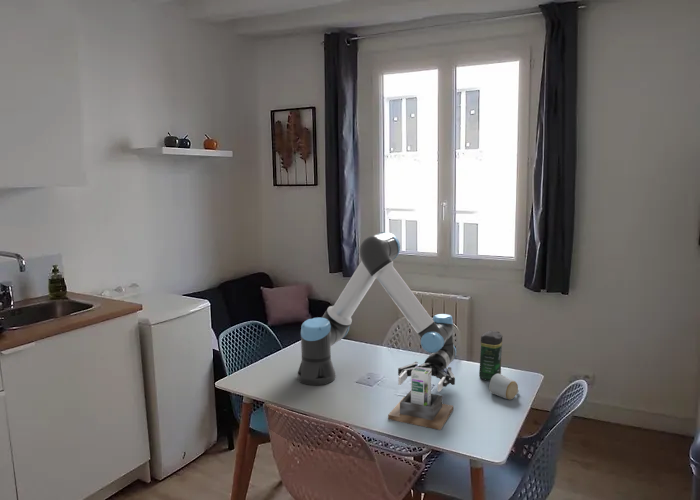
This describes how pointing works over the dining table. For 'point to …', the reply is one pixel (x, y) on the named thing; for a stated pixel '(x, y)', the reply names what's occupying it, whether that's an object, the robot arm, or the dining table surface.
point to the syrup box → (421, 386)
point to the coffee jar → (490, 354)
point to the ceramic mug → (503, 386)
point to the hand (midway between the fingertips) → (418, 384)
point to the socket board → (422, 412)
